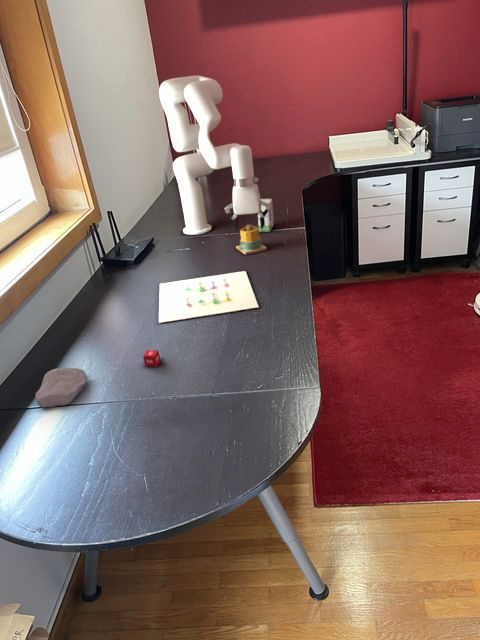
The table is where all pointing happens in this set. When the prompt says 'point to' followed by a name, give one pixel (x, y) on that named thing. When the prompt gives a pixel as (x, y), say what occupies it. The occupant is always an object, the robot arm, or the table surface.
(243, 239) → the ring
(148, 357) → the dice
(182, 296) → the printed paper
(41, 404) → the stone block
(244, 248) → the stacking peg
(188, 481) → the table surface
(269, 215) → the ink box
